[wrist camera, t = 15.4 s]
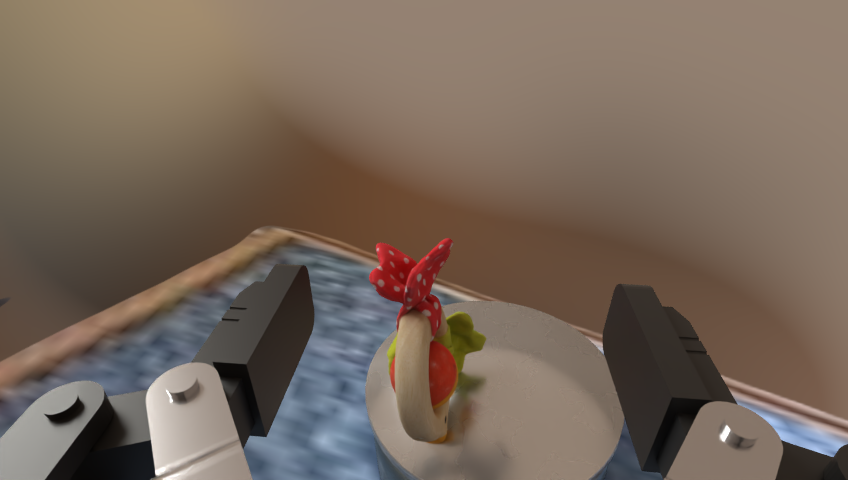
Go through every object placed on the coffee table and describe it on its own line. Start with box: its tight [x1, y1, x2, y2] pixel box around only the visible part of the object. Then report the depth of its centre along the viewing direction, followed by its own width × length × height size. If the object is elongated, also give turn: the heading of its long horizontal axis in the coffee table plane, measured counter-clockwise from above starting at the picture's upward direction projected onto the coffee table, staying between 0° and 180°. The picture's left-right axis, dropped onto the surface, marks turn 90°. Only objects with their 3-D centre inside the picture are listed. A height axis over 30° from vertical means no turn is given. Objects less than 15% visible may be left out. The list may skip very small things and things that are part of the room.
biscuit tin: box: [365, 301, 624, 480], centre depth 31 cm, size 15×15×7 cm
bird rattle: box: [369, 238, 486, 444], centre depth 25 cm, size 6×11×9 cm
